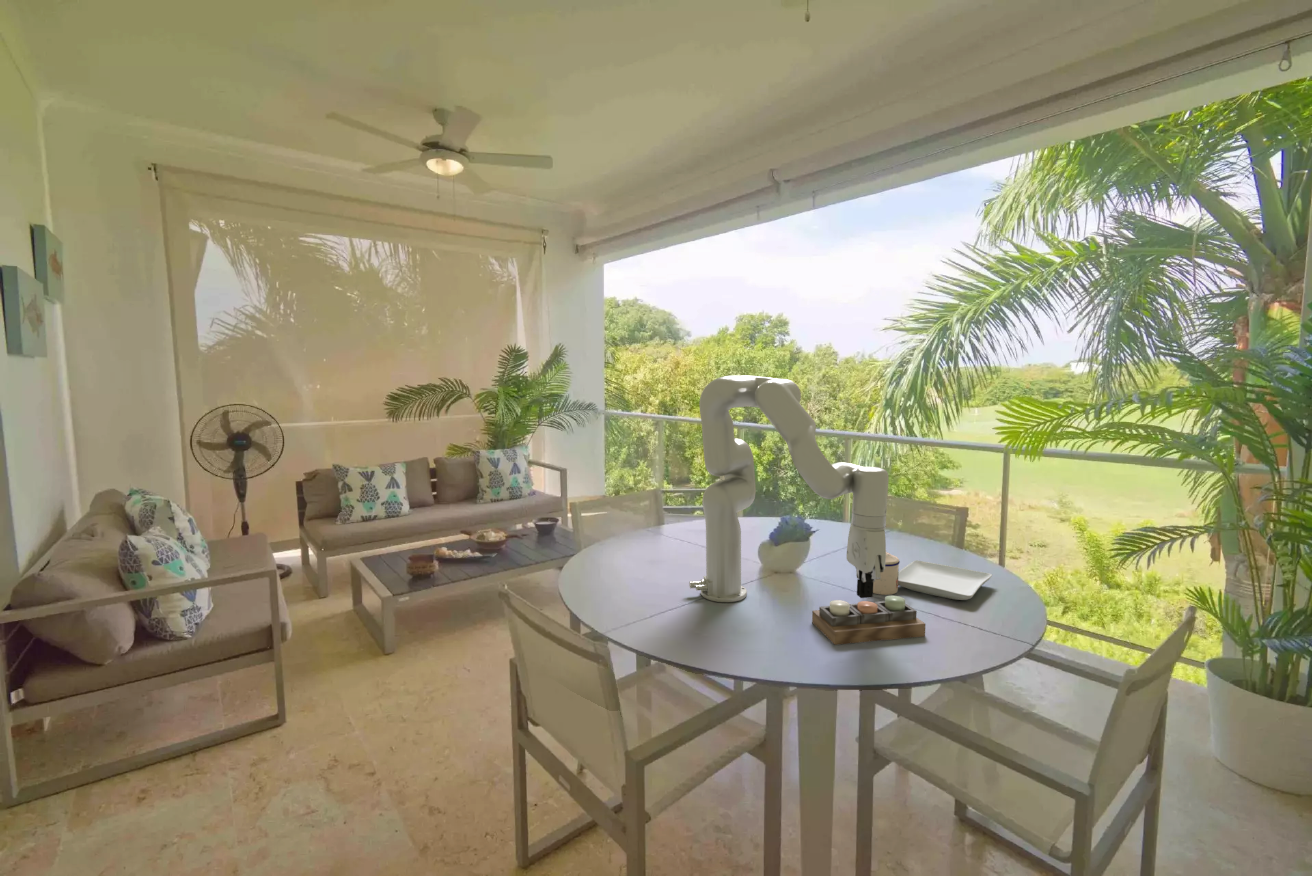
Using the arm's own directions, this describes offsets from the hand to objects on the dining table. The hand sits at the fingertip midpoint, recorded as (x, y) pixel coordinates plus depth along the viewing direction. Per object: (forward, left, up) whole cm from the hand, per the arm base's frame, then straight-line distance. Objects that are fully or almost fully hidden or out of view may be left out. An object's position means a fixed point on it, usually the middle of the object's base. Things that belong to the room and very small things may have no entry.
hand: (864, 596), depth 138 cm
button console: (0, 0, -8) cm, 8 cm away
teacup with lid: (+17, +24, -8) cm, 30 cm away
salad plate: (+34, +21, -8) cm, 41 cm away
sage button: (+7, 0, -3) cm, 8 cm away
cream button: (-7, -1, -4) cm, 7 cm away
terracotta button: (0, 0, -4) cm, 4 cm away
